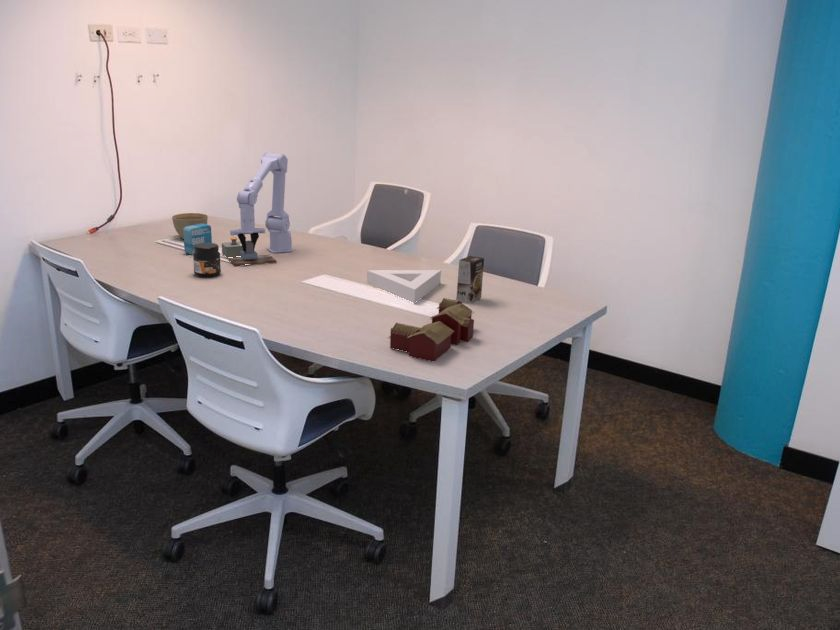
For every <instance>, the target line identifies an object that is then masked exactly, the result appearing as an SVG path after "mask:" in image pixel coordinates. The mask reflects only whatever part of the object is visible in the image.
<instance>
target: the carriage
mask: <svg viewBox="0 0 840 630" xmlns="http://www.w3.org/2000/svg"><path fill="white" fill-rule="evenodd" d="M245 245H246V251H245V252H244V251H240V256H241V258H243V260H254V259H257V258H258V255H259V253H257V251H256V250H255V249H254V245H253V242H251V240H246V243H245Z"/></svg>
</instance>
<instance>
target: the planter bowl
mask: <svg viewBox="0 0 840 630" xmlns="http://www.w3.org/2000/svg"><path fill="white" fill-rule="evenodd" d="M208 217H209V216H208V214H204V213H199V212H197V213H196V212H195V213H194V212H187V213H178V214H175V215H174V214H173V215H172V217H171V219H172V223H173V228H174V229H175V231H176V233H177V235H179V236H180V239H181V238H182V239H184V234H183V229H184V228H185V227H187V226H192V225H197V224H206V225H208V219H209V218H208ZM182 239H181V240H182Z"/></svg>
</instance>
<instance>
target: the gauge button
mask: <svg viewBox="0 0 840 630" xmlns="http://www.w3.org/2000/svg"><path fill="white" fill-rule="evenodd" d="M237 240H238V237H235V236H234V237H233V236H231V237H230V241H231V242H232V245H236V242H237Z"/></svg>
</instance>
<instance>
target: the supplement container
mask: <svg viewBox="0 0 840 630" xmlns="http://www.w3.org/2000/svg"><path fill="white" fill-rule="evenodd" d="M219 250H220V247H219V244H217V243H214V242H212V243H199V244H196V245H194V251H195V252H194V253H193V255H192V257H193V261H192V262H193V273H194V275H195V276H196V277H199V278H214V276H215V277H218V276H219V275H220V274H221V272H222V270H221V253H220V251H219Z"/></svg>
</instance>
